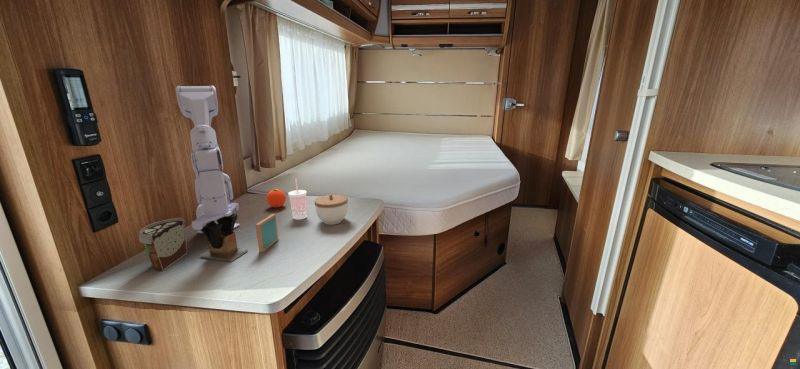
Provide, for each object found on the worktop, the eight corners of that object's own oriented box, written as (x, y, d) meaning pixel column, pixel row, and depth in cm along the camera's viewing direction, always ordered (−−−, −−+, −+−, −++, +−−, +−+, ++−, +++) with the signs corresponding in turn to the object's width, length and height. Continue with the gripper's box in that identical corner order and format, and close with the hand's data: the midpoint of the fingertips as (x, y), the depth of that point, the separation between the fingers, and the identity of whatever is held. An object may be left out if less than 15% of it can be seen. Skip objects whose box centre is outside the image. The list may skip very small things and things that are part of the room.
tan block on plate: (200, 257, 87) (196, 236, 86) (218, 247, 93) (214, 227, 91) (231, 261, 85) (227, 240, 83) (247, 251, 90) (244, 231, 89)
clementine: (271, 203, 130) (268, 186, 128) (289, 202, 130) (287, 185, 128) (265, 210, 122) (262, 192, 120) (284, 209, 123) (282, 191, 121)
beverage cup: (311, 217, 114) (307, 178, 110) (293, 221, 111) (289, 181, 107) (305, 212, 119) (301, 175, 115) (288, 216, 116) (284, 177, 112)
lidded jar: (347, 226, 106) (345, 198, 103) (313, 228, 105) (310, 200, 103) (350, 214, 116) (348, 189, 113) (319, 216, 115) (317, 190, 113)
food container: (169, 250, 92) (161, 217, 89) (191, 250, 92) (184, 216, 89) (133, 274, 80) (123, 236, 77) (158, 274, 80) (149, 236, 77)
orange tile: (259, 251, 90) (255, 224, 88) (275, 239, 98) (272, 213, 95) (262, 252, 90) (259, 224, 88) (278, 239, 97) (275, 214, 95)
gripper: (206, 205, 77) (216, 258, 80) (245, 188, 90) (252, 234, 94) (180, 204, 78) (191, 256, 82) (223, 187, 92) (230, 232, 95)
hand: (222, 244), depth 88 cm, fingers closed on tan block on plate, 4 cm apart
